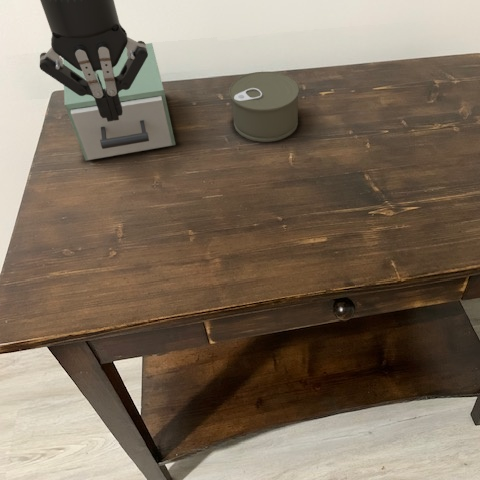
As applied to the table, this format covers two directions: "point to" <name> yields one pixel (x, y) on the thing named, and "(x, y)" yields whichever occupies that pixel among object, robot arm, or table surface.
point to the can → (264, 106)
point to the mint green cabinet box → (141, 87)
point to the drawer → (123, 128)
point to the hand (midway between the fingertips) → (113, 117)
